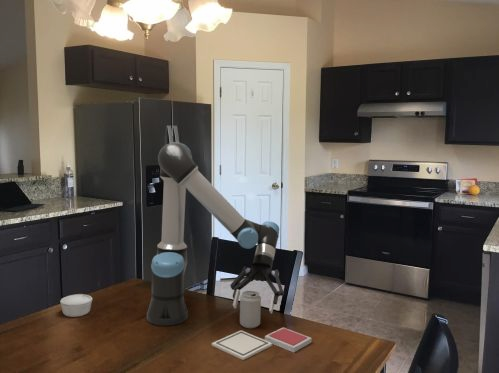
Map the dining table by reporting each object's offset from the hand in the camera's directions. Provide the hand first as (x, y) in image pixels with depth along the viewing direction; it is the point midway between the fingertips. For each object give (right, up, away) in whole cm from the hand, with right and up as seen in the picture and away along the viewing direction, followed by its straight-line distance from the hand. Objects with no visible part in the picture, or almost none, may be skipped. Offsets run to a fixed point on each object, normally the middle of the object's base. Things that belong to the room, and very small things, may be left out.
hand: (252, 309), depth 166 cm
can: (-1, -6, +1) cm, 6 cm away
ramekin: (-66, -4, +8) cm, 67 cm away
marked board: (-3, -8, -15) cm, 18 cm away
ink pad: (+12, -8, -12) cm, 18 cm away
